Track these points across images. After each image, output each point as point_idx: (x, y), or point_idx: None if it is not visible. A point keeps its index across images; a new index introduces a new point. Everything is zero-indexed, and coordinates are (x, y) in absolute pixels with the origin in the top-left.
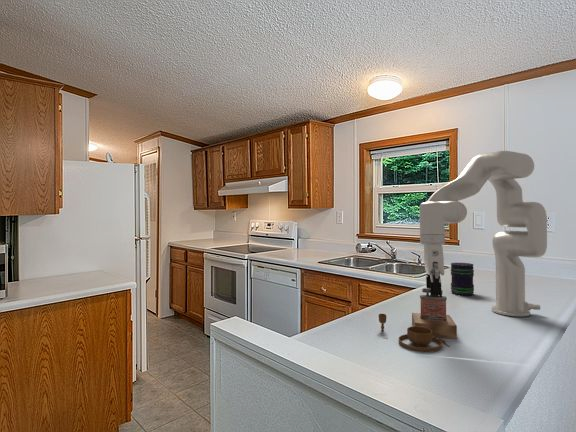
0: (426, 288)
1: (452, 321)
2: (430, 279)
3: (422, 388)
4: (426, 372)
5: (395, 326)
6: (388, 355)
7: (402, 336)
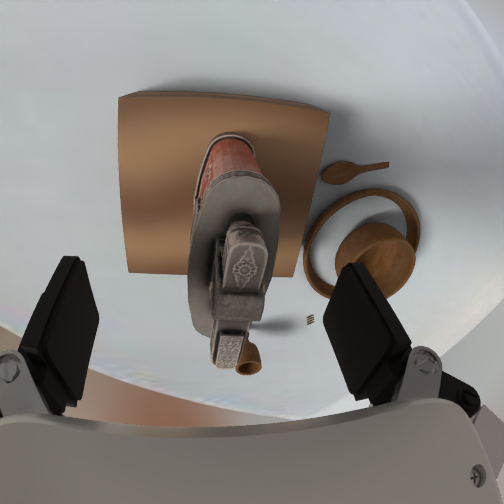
0: (222, 353)
1: (256, 108)
2: (74, 365)
3: (501, 266)
4: (477, 255)
5: (184, 294)
6: (407, 309)
7: (321, 290)
